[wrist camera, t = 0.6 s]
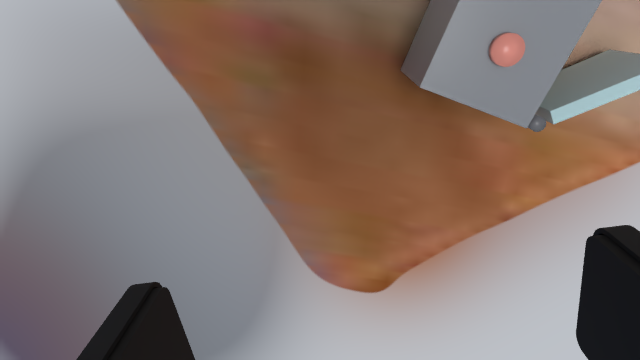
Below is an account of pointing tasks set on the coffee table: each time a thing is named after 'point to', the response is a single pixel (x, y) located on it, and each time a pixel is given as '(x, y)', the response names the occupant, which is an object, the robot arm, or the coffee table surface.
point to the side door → (591, 85)
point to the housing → (496, 52)
